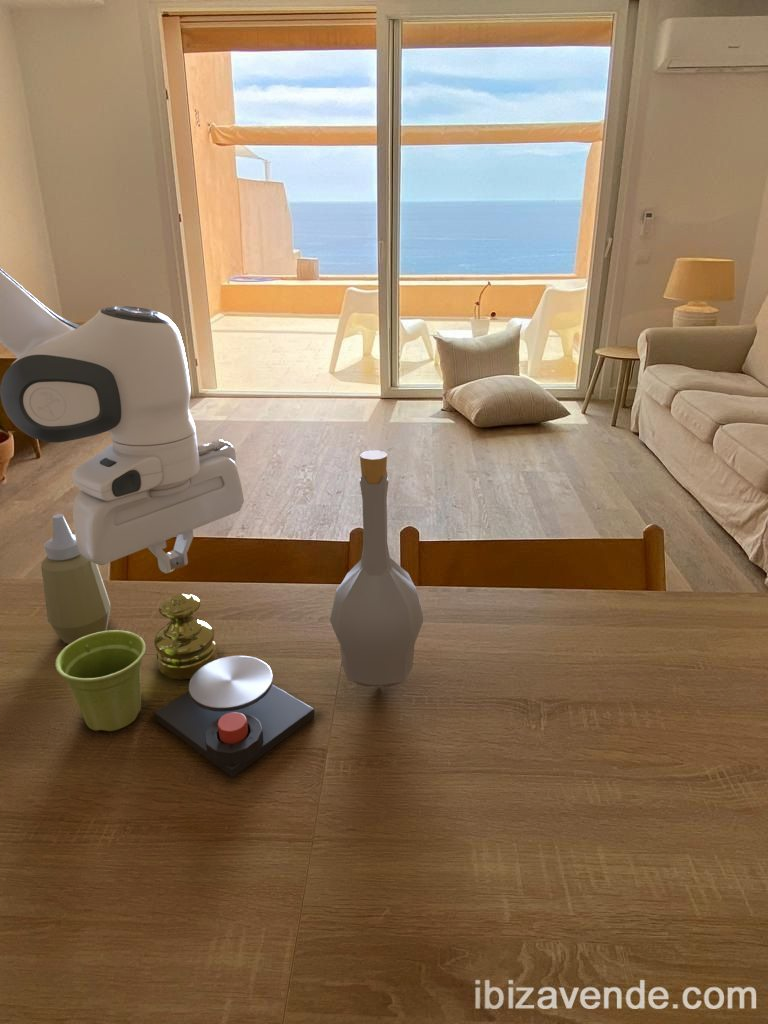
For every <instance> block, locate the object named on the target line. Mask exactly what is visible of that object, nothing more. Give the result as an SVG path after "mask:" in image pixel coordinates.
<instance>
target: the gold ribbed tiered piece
mask: <svg viewBox="0 0 768 1024" xmlns="http://www.w3.org/2000/svg"><path fill="white" fill-rule="evenodd" d="M200 606H201V600H200V599H199V597H198V596H196V595H194V594H190V593H175V594H172V595H170V596H169V597H166V598H165V599H164V600H162V601H161V602H160V603H159V605H158V612H159V614H160V615H161V616H162V617H164V618H167V619H169V620H170V621H169V622H167V624H166V625H164V626H163V627H161V629H160V630H159V631H158V632H157V633H156V635H155V637H154V642H153V643H154V648H155V650H156V659H157V662H158V667H159V668H158V669H159V671H160V673H161V674H162V675H163V676H165V677H167V678H169V679H172V680H191V678H192V676H193V675H194V674H195V673H196V672H197V671H198V670H199V669H200V668H201V667H203V666H204V665H206V664H208V663H210V662H212V661H214V660H217V659H218V655H217V643H216V641H215V629H214V628H213V626H212V625H211V624H210V623H209V622H207V621H204V620H203V619H200V618H197V617H194V616H193V615H194V614H195V613H196V612H197V611H198V610H199V609H200Z"/></svg>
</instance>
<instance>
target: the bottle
mask: <svg viewBox="0 0 768 1024" xmlns="http://www.w3.org/2000/svg"><path fill="white" fill-rule="evenodd" d="M359 458H360V459H359V462H360V472H361V476H360V478H359V486H360V492H361V501H362V534H363V535H362V536H363V537H362V539H363V543H362V551H361V552H362V553H361V559H359V561H358V562H357V563H356V564H355V565H354V566H353V567H352V568H350V570H349V571H348V572H347V573H346V575H345V577H344V578H343V580H342V581H341V583H340V584H339V585H338V587H337V588H336V589H335V594H334V599H333V604H332V608H331V614H330V618H329V621H330V624H331V627H332V630H333V632H334V635H335V636H336V639H337V640H338V643H339V649H340V658H341V666H342V668H343V671H344V673H345V674H344V675H345V676H346V679H347V681H348V682H350V683H354V684H358V685H361V686H363V687H388V688H390V687H393V686H396V685H399V684H403V683H405V682H406V680H407V678H408V676H409V674H410V673H411V671H412V669H413V666H414V657H415V656H414V654H415V644H416V642H417V639H418V636H419V633H420V631H421V628H422V625H423V623H424V612H423V608H422V604H421V600H420V596H419V591H418V589H417V587H416V585H415V584H414V581H413V580H412V578H411V576H410V574H409V572H408V571H406V570H405V569H404V568H403V567H402V566H401V565H399V564H398V563H397V562H396V561H395V560H393V559H392V558H391V555H390V549H389V544H388V489H389V481H390V479H389V477H388V471H387V467H388V466H387V464H388V463H387V462H388V453H387V452H385V451H384V450H377V449H375V450H373V449H370V450H366V451H362V452H361V453H359Z"/></svg>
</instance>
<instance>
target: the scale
mask: <svg viewBox="0 0 768 1024" xmlns="http://www.w3.org/2000/svg"><path fill="white" fill-rule="evenodd" d="M233 712H237V713H241V714H243V715H244V716H245V717H246V720H247V728H248V734H247V737H246V738H245V739H244V740H243V741H241V742H239V743H236V744H226V743H224V742H222V741H221V740H220V738H219V731H218V721H219V719H220V718H221V717H222V716H224V715H226V714H228V713H233ZM153 716H154V720H155V721H156V722H157V723H158V724H160V725H161V726H162V727H164V728H165V729H167V730H168V731H169V732H170V733H171V734H173V735H174V736H176V737H177V738H178V739H180V740H181V741H183V742H184V743H185V744H186V745H188V746H189V747H190V748H192V749H193V750H195V751H196V752H197V753H199V754H200V755H201V756H202V757H204V758H205V759H206V760H208V761H209V762H211V764H213V765H214V766H216V767H217V768H218V769H220V770H221V771H223V772H224V773H225V774H227V775H228V776H229V777H230V778H235V777H237V776H238V775H239V774H240V773H241V772H243V771H244V770H245V769H247V768H248V767H250V766H251V765H252V764H254V763H255V762H256V761H258V760H259V759H261V757H263V756H265V755H266V754H267V753H269V752H270V751H271V750H272V749H274V748H275V747H276V746H278V745H279V744H280V743H281V742H283V741H284V740H286V739H287V738H288V737H290V736H291V735H293V734H294V733H295V732H296V731H298V730H299V729H300V728H303V727H304V726H305V725H306V724H308V723H309V722H310V721H311V720H313V719H314V718H315V708H313V707H312V706H310V705H308V704H307V703H305V702H303V701H301V700H300V699H298V698H297V697H295V696H293V695H291V694H289V693H288V692H286V691H285V690H283V689H282V688H279V687H278V686H276V685H274V684H273V683H272V686H271V689H270V690H269V692H268V693H267V694H266V695H265V696H264V697H263V698H262V699H261V700H259V701H258V702H256V703H255V704H253V705H250V706H248V707H246V708H243V709H239V710H234V711H227V712H219V711H211V710H207V709H204V708H202V707H200V706H198V705H197V704H196V703H194V701H193V700H192V699H191V697H190V694H189V690H188V691H186V692H185V693H183V694H182V695H180V696H179V697H177V698H175V699H174V700H172V701H170V702H168V703H167V704H165V705H163V706H162V707H160V708H158V709H156V710H155V711H154V712H153Z"/></svg>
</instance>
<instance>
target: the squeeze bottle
mask: <svg viewBox="0 0 768 1024" xmlns="http://www.w3.org/2000/svg"><path fill="white" fill-rule="evenodd" d="M44 550H45V554H46V557H45V558H44V559H43V560H42V561H41V565H40V567H41V568H40V569H41V576H42V584H43V592H44V600H45V608H46V617H47V622H48V623H49V624H50V626H51V627H52V629H53V630H54V631H55V633H56V634H57V635H58V636H59V638H60V639H61V641H63V643H64V644H68V645H69V644H71V643H72V642H74V641H75V640H77V639H79V638H82V637H84V636H87V635H90V634H93V633H97V632H103V631H108V624H109V620H110V614H111V607H112V606H111V600H110V598H109V595H108V593H107V589H106V586H105V583H104V581H103V577H102V573H101V571H100V569H99V565H98V564H96V563H94V562H92V561H90V560H88V559H87V558H85V557H84V556H83V555H81V553H80V552H79V550H78V547H77V543H76V537H75V533H72V531H71V529H70V527H69V524H68V523H67V520H66V518H65V516H64V514H61V513H57V514H54V515H53V516H52V538H50V539H48V540H47V541H46V542H45V543H44Z"/></svg>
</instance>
